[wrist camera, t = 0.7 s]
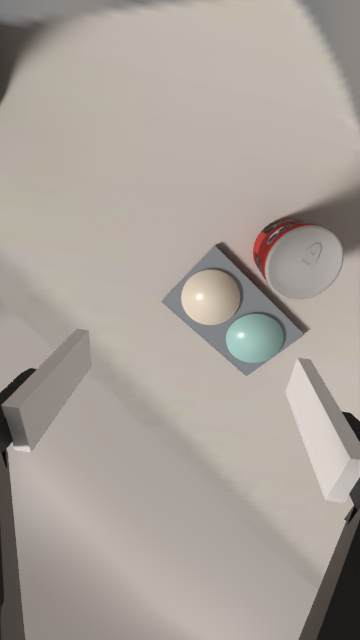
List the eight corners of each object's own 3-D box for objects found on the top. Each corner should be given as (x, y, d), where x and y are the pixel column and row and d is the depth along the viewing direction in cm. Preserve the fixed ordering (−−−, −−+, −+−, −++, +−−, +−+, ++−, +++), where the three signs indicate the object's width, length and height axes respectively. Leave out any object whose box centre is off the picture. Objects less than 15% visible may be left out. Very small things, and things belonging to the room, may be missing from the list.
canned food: (317, 223, 35) (358, 233, 25) (296, 279, 38) (324, 307, 28) (261, 213, 35) (280, 218, 25) (245, 269, 39) (256, 293, 29)
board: (162, 299, 42) (160, 303, 41) (215, 244, 38) (215, 246, 36) (245, 372, 46) (246, 378, 45) (302, 331, 42) (305, 336, 40)
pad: (214, 337, 43) (214, 339, 42) (256, 301, 39) (257, 303, 39) (251, 369, 45) (251, 371, 44) (294, 338, 41) (295, 340, 41)
